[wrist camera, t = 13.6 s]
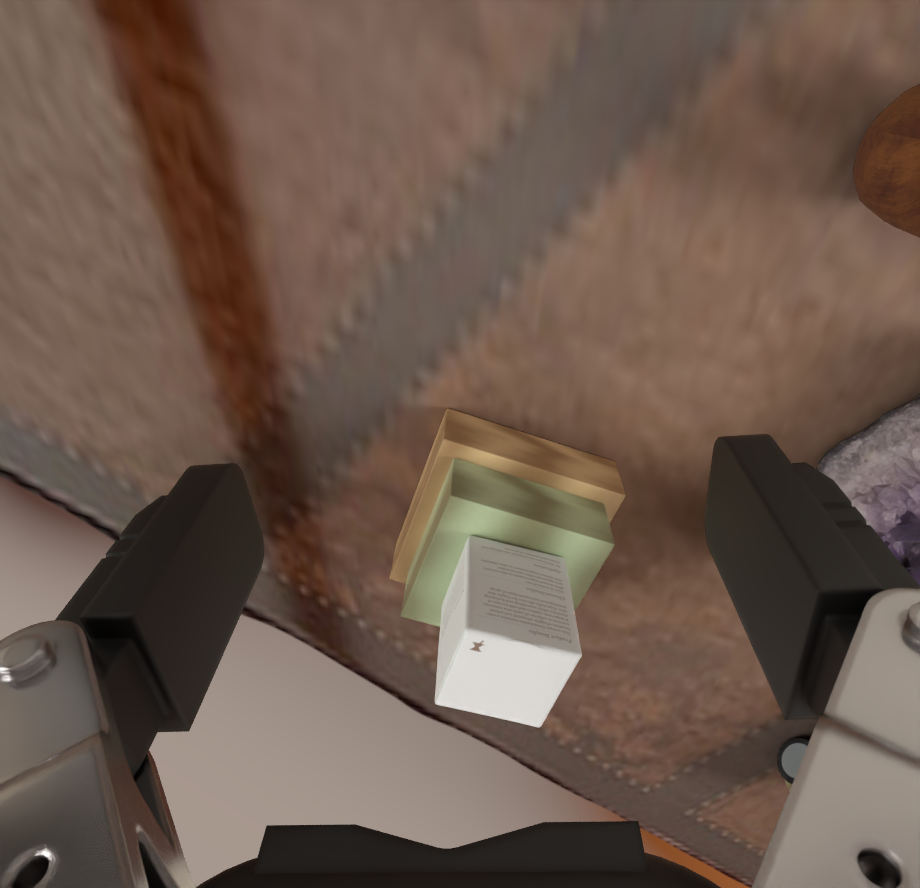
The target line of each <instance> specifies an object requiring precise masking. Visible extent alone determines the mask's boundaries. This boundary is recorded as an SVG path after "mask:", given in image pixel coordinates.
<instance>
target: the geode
mask: <svg viewBox="0 0 920 888" xmlns="http://www.w3.org/2000/svg"><path fill="white" fill-rule="evenodd" d="M817 470H818V471H819V472H821V473H823V474H824V475H826V476H828V477H829V478H831V479H832V480H834V481H835V482H836V484H837V485H838V486H839V487H840V489H841V490H842V491H843V492H844V493H845V495H846V496H847V497H848V498H849V500H850V501H851V502H852V503H851V505H852V507H856V508H857V509H858V511H859V512H860V513H861V514H862V516H863V517H864V518H865V519H866V524H867V525H871V527H872V528H873V529H874V530H875V532H876V533H877V534H878V535H879V537H880V538H881V539H882V540H883V541H884V543H885V544H886V545H887V546H888V548H889V549H890V550H891V551H892V552H893V554H894V555H895V556H896V557H897V559H898V560H899V561H900V562H901V564H902V565H903V566H904V567H905V568H906V570H907V571H908V572H909V573H910V575H911V576H912V577H913V578H914V580H915V581H916V582H917V583H918V584H919V586H920V394H919V395H918V396H917V397H916V398H915V399H914V400H913V401H911V402H909V403H907V404H904V405H902V406H900V407H898V408H895V409H893V410H891V411H889V412H887V413H885V414H883V415H882V416H881V417H880V418H879V419H878V420H877V421H875V422H874V423H872V424H871V425H870V426H868V427H867V428H865V429H864V430H862V431H860V432H859V433H857V434H856V435H854V436H852V437H850V438H848V439H846V440H844V441H842V442H840V443H839V444H837V445H836V446H834V447H833V448H832V449H830V450H829V451H827V452H826V454H825V455H824V457H823V458H822V459H821V461H820V462H819V464H818V467H817Z"/></svg>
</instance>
